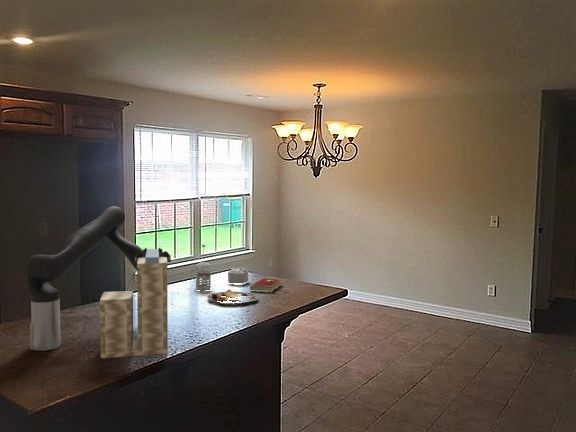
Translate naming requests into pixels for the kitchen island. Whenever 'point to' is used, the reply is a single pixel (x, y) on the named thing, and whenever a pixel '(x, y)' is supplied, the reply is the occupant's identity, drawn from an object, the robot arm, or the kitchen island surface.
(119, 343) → the stepped stand
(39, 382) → the kitchen island surface
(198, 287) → the french press
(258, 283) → the hardcover book
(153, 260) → the blue-grey flat bar
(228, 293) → the food plate
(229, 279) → the lumpy-topped squat cylinder
